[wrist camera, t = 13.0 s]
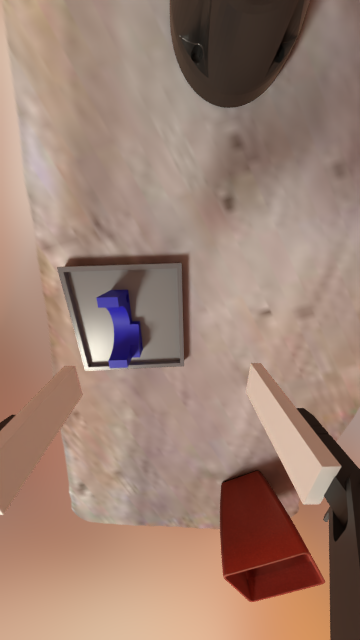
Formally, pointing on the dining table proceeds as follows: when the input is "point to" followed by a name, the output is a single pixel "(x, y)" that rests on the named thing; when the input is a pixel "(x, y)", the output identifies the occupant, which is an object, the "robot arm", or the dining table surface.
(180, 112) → the dining table surface
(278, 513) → the plant pot
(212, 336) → the dining table surface
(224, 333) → the dining table surface
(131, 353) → the cable clip
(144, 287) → the tray
